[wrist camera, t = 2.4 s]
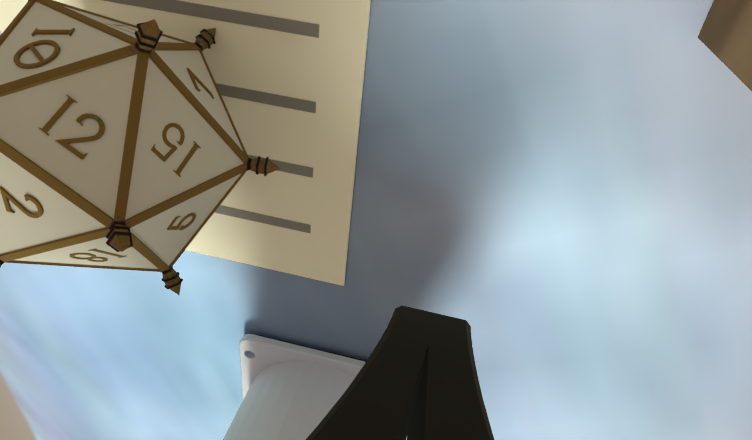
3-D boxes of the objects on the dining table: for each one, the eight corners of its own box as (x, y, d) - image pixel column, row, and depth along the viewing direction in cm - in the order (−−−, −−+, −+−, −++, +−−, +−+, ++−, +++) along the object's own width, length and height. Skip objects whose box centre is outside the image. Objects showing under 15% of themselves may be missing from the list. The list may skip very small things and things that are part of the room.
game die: (219, 107, 23) (47, 302, 20) (52, -90, 17) (-235, 148, 14) (375, 141, 17) (170, 422, 14) (207, -134, 11) (-215, 250, 8)
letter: (344, 284, 22) (343, 286, 22) (56, 219, 24) (55, 220, 24) (402, -329, 12) (401, -331, 12) (-113, -376, 13) (-117, -377, 13)
